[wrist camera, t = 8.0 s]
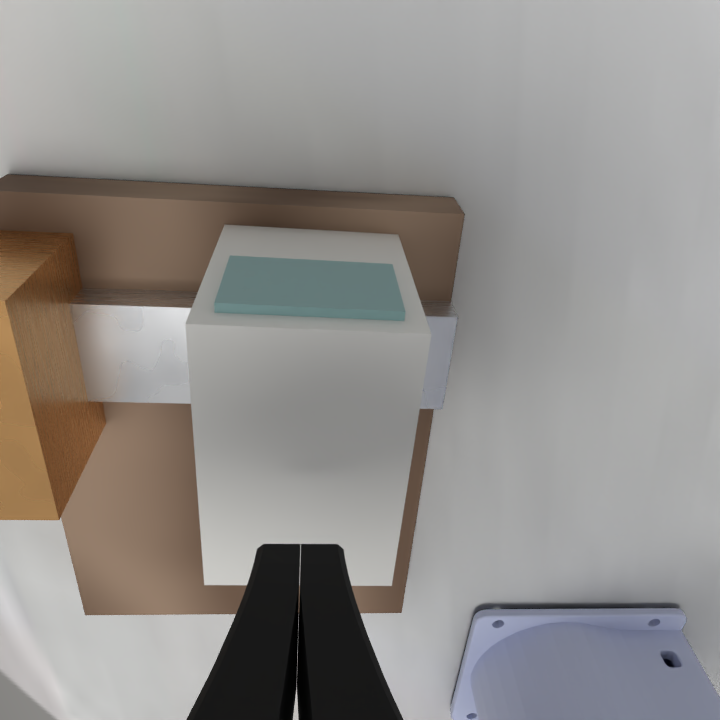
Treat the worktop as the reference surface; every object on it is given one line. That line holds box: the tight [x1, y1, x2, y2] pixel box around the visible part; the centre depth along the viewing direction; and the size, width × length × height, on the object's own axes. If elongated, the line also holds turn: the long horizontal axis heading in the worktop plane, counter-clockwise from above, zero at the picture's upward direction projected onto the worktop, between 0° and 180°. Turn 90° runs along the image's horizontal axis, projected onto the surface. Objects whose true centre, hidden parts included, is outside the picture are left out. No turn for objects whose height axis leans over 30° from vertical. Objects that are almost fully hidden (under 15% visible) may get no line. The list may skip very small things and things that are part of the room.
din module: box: [185, 225, 431, 586], centre depth 15 cm, size 4×7×6 cm, turn 175°
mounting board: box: [0, 174, 465, 615], centre depth 20 cm, size 12×16×2 cm
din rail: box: [0, 230, 458, 520], centre depth 16 cm, size 12×6×4 cm, turn 86°
